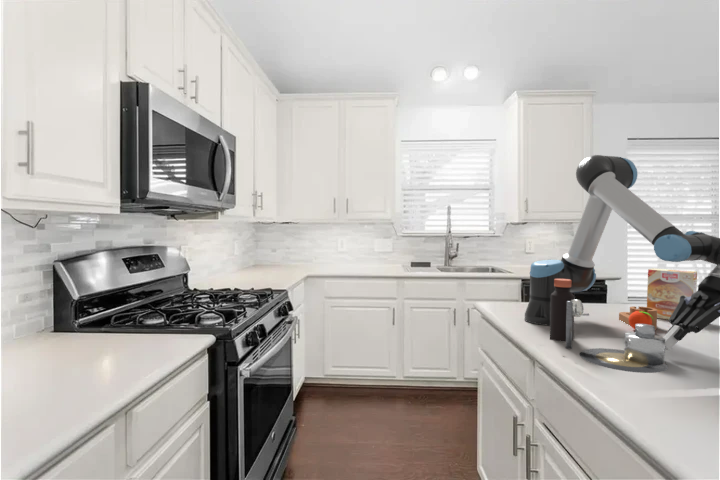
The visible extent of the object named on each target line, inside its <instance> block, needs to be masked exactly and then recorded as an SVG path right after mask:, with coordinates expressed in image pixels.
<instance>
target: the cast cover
mask: <svg viewBox="0 0 720 480" xmlns="http://www.w3.org/2000/svg"><path fill="white" fill-rule="evenodd" d="M663 337H664V336H660V335H657V334H656V329H655V326H653V325H648V324H635V329H634V332H633V331H631V332H625V333H624V348H623V349H624V356H625V357H626V358H627V359H630V360H633V361H636V362H641V363H647V364H663V363H665V359H666V358H665V356H666V354H665V353H666V352H665V351H666V349H665V338H663Z"/></svg>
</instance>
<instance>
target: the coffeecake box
mask: <svg viewBox="0 0 720 480" xmlns="http://www.w3.org/2000/svg"><path fill="white" fill-rule="evenodd" d="M697 285H698V271H696V270H695V271H693V270H680V269H665V268H653V267H652V268H648V270H647V290H646V292H647V293H646V294H647V295H646V307H649V308H654V309H657V319H661V320H668V321H669V319H670V317H671V315H672V314H673V312H674V310H675V309H676V307H677V305H678V304H679V302H680V297H681V296H685V297H690V296H691V295H692V294H693V293H695V292H697V291H698V286H697Z"/></svg>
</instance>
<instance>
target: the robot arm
mask: <svg viewBox="0 0 720 480" xmlns="http://www.w3.org/2000/svg"><path fill="white" fill-rule="evenodd" d="M575 170H576V171H575V176H576V177H575V178H576V181H577V182H578V184H579V186H580V187H582V189H583V190H584V191H586V192H587V193H588V194H589V196H588V199H587V202H586V205H585V207H584V210H583V213H582V216H581V217H580V221H579V224H578V227H577V229H576V231H575V234H574V237H573V240H572V242H571V245H570V248H569V251H568V252H566V253H564V254H562V256H561V260H560V259H546V260H545V259H542V260H537V261H534V262H532V263H531V265H530V270H529V301H528V305H527V306H526V309H525V312H524V321H526V322H528V323H531V324H535V325H543V326H550V303H551V294H552V293H553V292H554V291H555V286H554V279H570V280H572V281H571V289H570V292H571V293H580V292H581V293H582V292H584V291H587V290H589V289H590V288H591V287H593V285H594V284H595V283H596V278H597V273H596V269H595V262H594V260H593V258H594V256H595V253H596V251H597V248H598V246H599V243H600V241H601V238H602V235H603V233H604V230H605V228H606V226H607V223H608V220H609V218H610V216H611V213H612V211H614V212H615V213H616V214H617V215H618V216H619V217H620V218H622V220H624V221H625V222H626V223H627V224H629V225H630V226H631V227H632V228H633V229H634V230H635V231H637V232H638V233H639V234H640V235H641V236H642V237H643V238H645V239H646V241H648V242H649V243H650V244H651V245H653V251H654V253H655V255H656V257H658V258H659V259H660V260H662V261H665V262H671V263H680V262H688V261H691V262H692V261H693V262H695V261H704V262H707V263H710V264H714V265H716V266H715V267H714V268H713V269H712V270H711V271H710V272H709V273H708V275H706V276H705V277H704V278H703V280H701V281H700V283H698V284H697V285H698V286H697V290H696V292H695V293H693V294H692V295H691V296H690V297H685V296H681V297H680V302H679V304H678V305H677V307H676V309H675V310H674V312H673V314H672V315H671V317H670V319H669V320H668V321H669V323H670V324H671V327H670V328H669V329H668V330H667V331H666V332H665V335H664V336H662V337H663V338H665V350H666V351H667V350H668V351H671V350H672V349H673V347H675V345H676V344H677V343H678V342H679V341H681V340H683V338H684V337H686V336H687V334H691V333H694V334H698V333H699V332H701V331H702V330H704V329H705V328H706V327H707V326H709V325H710V324H711V323H713V322H715V320H717V319H718V318H720V237H718V236H714V235H710V234H707V233H704V232H699V231H694V230H688V231H686V232H685V233H684V232H682V230H680V229H679V228H677V226H675V225H674V224H673V223H671V222H670V221H669V220H668V219H666V218H665V217H664V216H662V214H661V213H660V212H658V211H656V210H655V209H654V208H653V207H651V206H650V205H649V204H647V202H645V201H644V200H643V199H641V198H640V197H639V196H637V195H636V194H635V193H634V192H633V191H632V190H630V188H632V187H633V186H634V185H635V183H636V182H637V179H638V169H637V167H636V165H635V163H634V162H633V161H632V160H630V159H628V158H625V157H622V156H612V155H602V154H593V155H590V156H587V157H586V158H583V160H581V161H580V162H579V164H578V166H577V168H576V169H575Z"/></svg>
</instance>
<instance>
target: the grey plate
mask: <svg viewBox="0 0 720 480" xmlns="http://www.w3.org/2000/svg"><path fill="white" fill-rule="evenodd" d="M579 357H581V358H582V359H583V360H585V361H586V362H589V363H592V364H593V365H597V366H600V367H603V368H607V369H612V370H616V371H622V372H630V373H640V374H642V373H643V374H645V373H646V374H648V373H649V374H651V373H653V374H654V373H661V372H665V371H666V370H668V367H669V366H668V365H667V363H666V362H664V363H663V364H647V363H641V362H636V361H633V360H630V359H627V358H626V357H625V356H624V350H622V349H615V348H614V349H613V348H603V347H602V348H601V347H600V348H588V349H587V348H586V349H583V350H581V351H580V352H579Z"/></svg>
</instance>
